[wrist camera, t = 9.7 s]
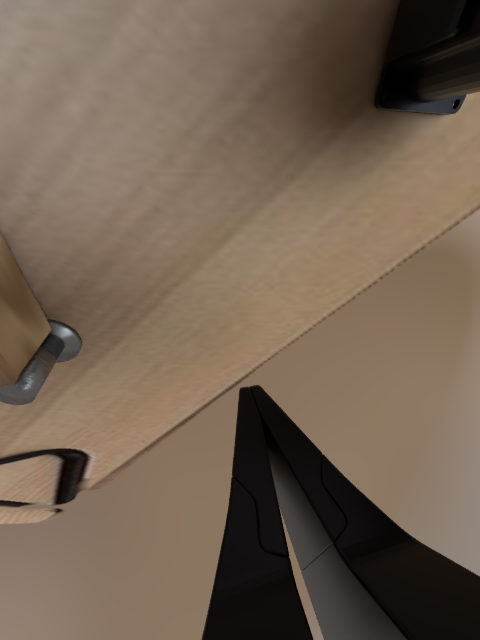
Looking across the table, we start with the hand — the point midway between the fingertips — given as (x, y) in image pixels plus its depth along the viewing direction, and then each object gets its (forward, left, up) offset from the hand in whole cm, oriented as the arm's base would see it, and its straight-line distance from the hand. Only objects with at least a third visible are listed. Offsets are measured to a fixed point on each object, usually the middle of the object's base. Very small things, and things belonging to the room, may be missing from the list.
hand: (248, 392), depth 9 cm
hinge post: (+14, +5, -12) cm, 19 cm away
